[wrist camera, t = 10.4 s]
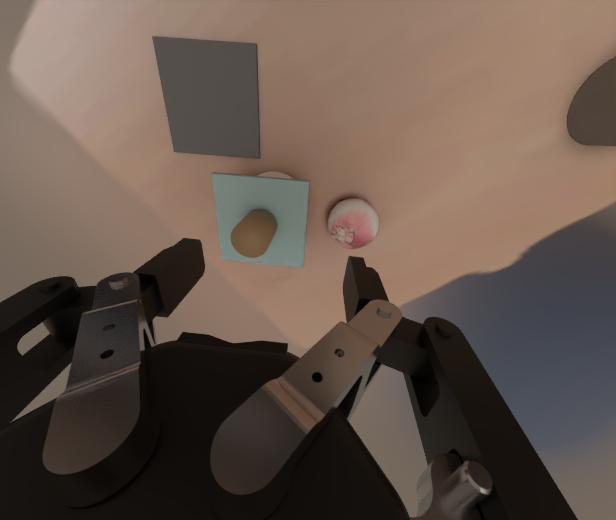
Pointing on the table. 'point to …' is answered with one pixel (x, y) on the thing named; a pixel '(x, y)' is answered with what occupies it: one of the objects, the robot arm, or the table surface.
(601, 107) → the coffee mug
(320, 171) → the table surface
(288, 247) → the lid
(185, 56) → the mat
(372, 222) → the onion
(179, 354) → the robot arm
